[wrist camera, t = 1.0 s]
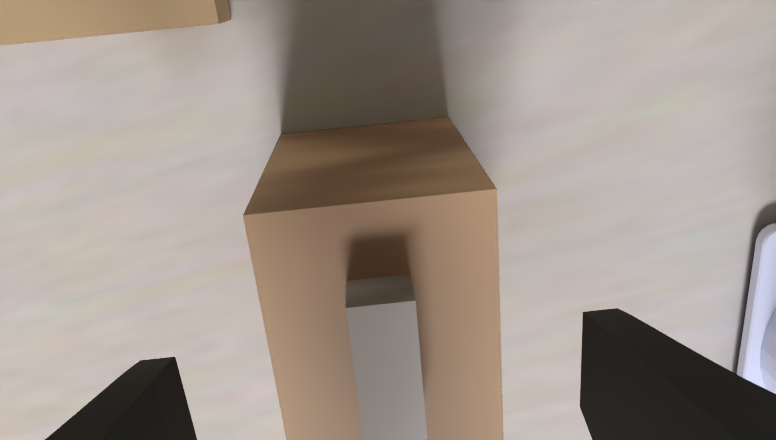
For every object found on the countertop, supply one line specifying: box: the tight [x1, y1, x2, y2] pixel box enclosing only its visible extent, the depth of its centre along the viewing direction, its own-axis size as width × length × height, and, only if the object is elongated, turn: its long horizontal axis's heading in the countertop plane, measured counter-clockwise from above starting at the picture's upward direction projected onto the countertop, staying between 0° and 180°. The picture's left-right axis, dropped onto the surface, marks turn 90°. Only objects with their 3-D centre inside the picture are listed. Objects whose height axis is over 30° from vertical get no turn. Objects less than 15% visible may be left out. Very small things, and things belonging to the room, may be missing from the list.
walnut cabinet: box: [243, 117, 503, 440], centre depth 14 cm, size 4×6×7 cm
